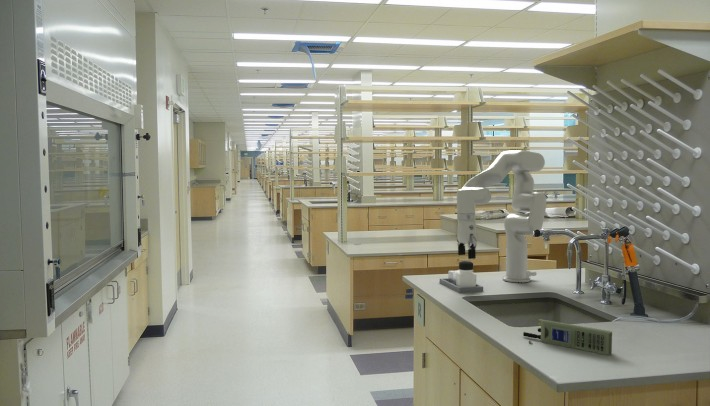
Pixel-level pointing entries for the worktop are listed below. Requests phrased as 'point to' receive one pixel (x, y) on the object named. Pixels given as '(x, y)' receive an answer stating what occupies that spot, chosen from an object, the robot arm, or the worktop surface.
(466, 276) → the medicine bottle
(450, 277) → the steel block
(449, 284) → the bay tray
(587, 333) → the handheld radio
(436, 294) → the worktop surface
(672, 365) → the worktop surface
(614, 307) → the worktop surface
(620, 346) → the worktop surface
